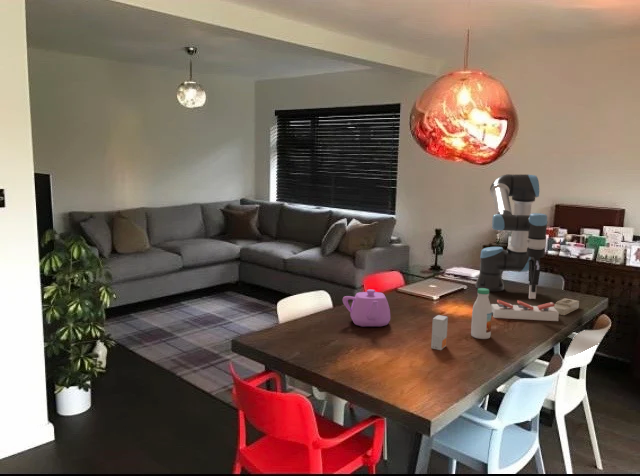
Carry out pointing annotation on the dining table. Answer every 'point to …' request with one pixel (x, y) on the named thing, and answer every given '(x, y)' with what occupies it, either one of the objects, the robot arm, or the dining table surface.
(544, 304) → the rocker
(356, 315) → the teapot
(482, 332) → the milk bottle
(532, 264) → the robot arm
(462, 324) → the dining table surface
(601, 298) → the dining table surface
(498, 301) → the rocker
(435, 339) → the skincare box
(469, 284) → the dining table surface
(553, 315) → the power strip
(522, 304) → the rocker
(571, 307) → the electrical outlet
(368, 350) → the dining table surface
